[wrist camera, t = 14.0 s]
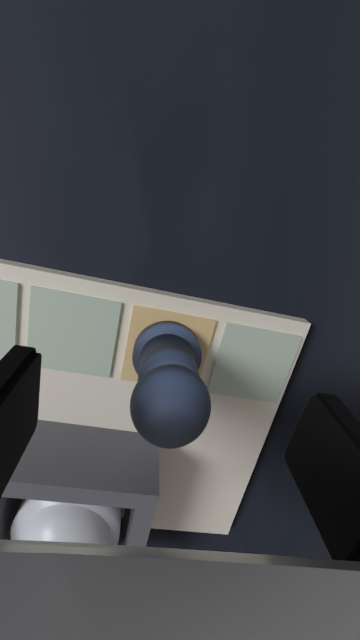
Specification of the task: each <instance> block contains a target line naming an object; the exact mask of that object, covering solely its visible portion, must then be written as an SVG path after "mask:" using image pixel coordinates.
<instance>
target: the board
mask: <svg viewBox="0 0 360 640" xmlns="http://www.w3.org/2000/svg"><path fill="white" fill-rule="evenodd" d="M160 321H175V322H179V323H181V324H183V325H185V326H187V327H188V328H189V329H190V330H192V331H193V333H194V334H195V335H196V337H197V339H198V342H199V345H200V348H201V353H202V361H201V365H200V368H199V370H198V372H199V376H200V378H201V379H202V380H203V382H204V383H205V385H206V387H207V389H208V392H209V395H210V399H211V413H210V418H209V421H208V424H207V426H206V427H205V429H204V431H203V432H202V433H201V435H200V436H199V437H198V438H197V439H196V440H194V441H193V442H191V443H190V444H188V445H186V446H183V447H180V448H174V449H166V448H161V447H159V500H158V503H157V507H156V511H155V515H154V518H153V522H152V526H151V528H153V529H166V530H178V531H190V532H203V533H215V534H227V535H228V533H229V530H230V528H231V525H232V522H233V520H234V517H235V515H236V512H237V510H238V507H239V505H240V502H241V500H242V497H243V495H244V492H245V490H246V487H247V485H248V482H249V480H250V477H251V475H252V472H253V469H254V467H255V464H256V462H257V459H258V457H259V454H260V452H261V449H262V447H263V444H264V442H265V439H266V437H267V434H268V432H269V429H270V427H271V424H272V421H273V419H274V416H275V414H276V411H277V409H278V406H279V404H280V401H281V399H282V396H283V394H284V391H285V389H286V386H287V384H288V381H289V379H290V376H291V373H292V371H293V368H294V366H295V363H296V361H297V358H298V356H299V353H300V351H301V348H302V346H303V343H304V341H305V338H306V336H307V333H308V331H309V328H310V326H311V323H309V322H308V321H307V320H306V319H303V318H298V317H293V316H288V315H283V314H278V313H273V312H268V311H263V310H258V309H253V308H248V307H242V306H237V305H232V304H227V303H222V302H217V301H212V300H207V299H202V298H197V297H192V296H187V295H182V294H177V293H172V292H166V291H161V290H156V289H151V288H146V287H141V286H136V285H131V284H126V283H121V282H116V281H111V280H106V279H101V278H96V277H91V276H85V275H80V274H75V273H70V272H65V271H60V270H55V269H50V268H45V267H40V266H35V265H30V264H25V263H20V262H15V261H9V260H4V259H0V360H1V359H2V358H3V357H4V356H5V355H6V354H7V353H8V351H9V350H10V349H11V348H12V347H13V346H14V345H21V346H28V347H34V348H35V349H36V353H41V355H42V360H41V376H40V392H39V409H38V420H45V421H53V422H61V423H69V424H77V425H85V426H93V427H101V428H108V429H116V430H124V431H132V432H138V431H137V430H136V428H135V426H134V424H133V422H132V419H131V414H130V399H131V395H132V392H133V390H134V387H135V385H136V384H137V382H138V374H137V373H136V371H135V369H134V366H133V362H132V355H133V348H134V344H135V341H136V338H137V337H138V335H139V334H140V333H141V331H143V330H144V329H145V328H146V327H147V326H149V325H151V324H153V323H156V322H160ZM125 510H126V508H122V517H121V518H124V514H125Z"/></svg>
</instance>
